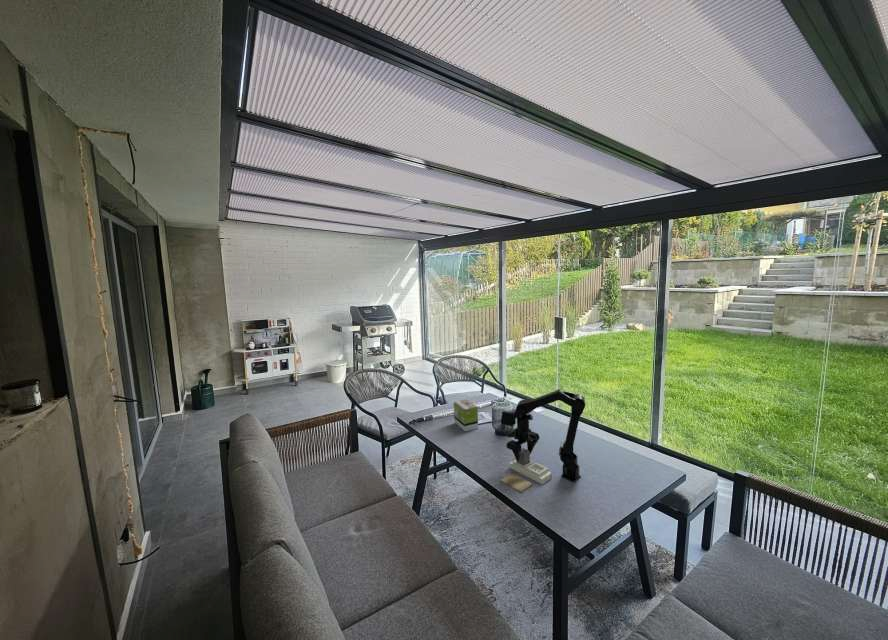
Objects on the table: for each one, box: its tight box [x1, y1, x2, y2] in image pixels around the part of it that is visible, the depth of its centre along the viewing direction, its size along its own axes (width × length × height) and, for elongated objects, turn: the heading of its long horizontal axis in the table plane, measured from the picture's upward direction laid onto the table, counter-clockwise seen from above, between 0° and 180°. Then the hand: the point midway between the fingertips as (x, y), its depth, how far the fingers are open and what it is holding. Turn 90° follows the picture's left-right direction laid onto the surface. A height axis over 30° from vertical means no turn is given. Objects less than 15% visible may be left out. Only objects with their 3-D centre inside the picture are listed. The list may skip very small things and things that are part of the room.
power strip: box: [509, 457, 553, 485], centre depth 164 cm, size 19×8×4 cm, turn 39°
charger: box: [517, 447, 531, 465], centre depth 166 cm, size 4×4×7 cm
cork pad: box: [500, 472, 534, 494], centre depth 156 cm, size 12×8×1 cm, turn 39°
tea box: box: [453, 399, 479, 432], centre depth 218 cm, size 15×10×15 cm
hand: (523, 457), depth 166 cm, fingers open, 9 cm apart
